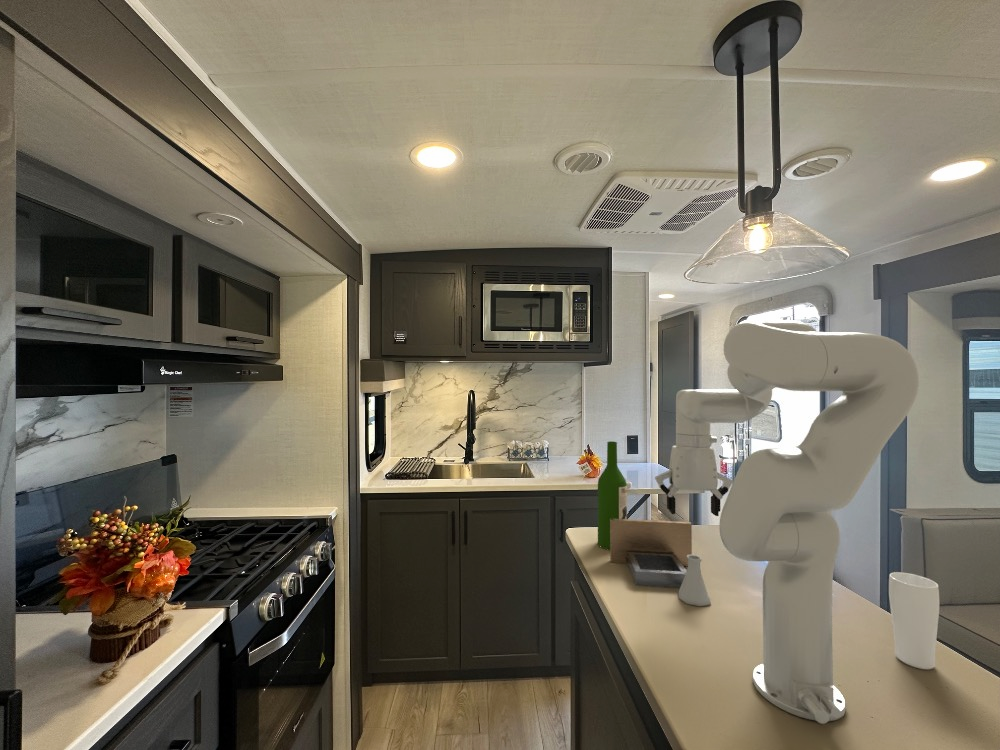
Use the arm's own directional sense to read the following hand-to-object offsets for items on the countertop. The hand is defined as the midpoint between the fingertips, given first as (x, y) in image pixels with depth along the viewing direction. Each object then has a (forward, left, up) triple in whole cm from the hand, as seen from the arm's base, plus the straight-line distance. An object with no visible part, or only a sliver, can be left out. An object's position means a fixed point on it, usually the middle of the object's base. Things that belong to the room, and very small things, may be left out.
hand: (693, 513), depth 104 cm
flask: (0, 0, -20) cm, 20 cm away
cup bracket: (+13, +6, -20) cm, 25 cm away
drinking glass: (-19, -33, -20) cm, 43 cm away
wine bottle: (+33, +15, -20) cm, 41 cm away
